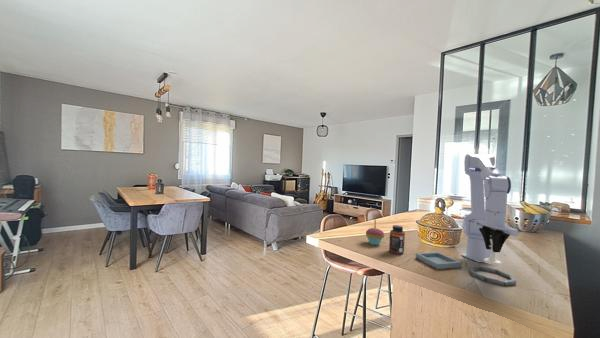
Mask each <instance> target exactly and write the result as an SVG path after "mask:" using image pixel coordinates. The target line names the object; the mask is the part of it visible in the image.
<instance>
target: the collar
mask: <svg viewBox="0 0 600 338" xmlns="http://www.w3.org/2000/svg"><path fill="white" fill-rule="evenodd" d="M479 271H483V272H488V273H492V274H496V275H500V276H502V277H504V278H506V280H501V279H496V278H492V277H487V276H485V275H482V274H480V273H478V272H479ZM469 272H471V273H470V275H471V277H475V278H477V279H478V280H481V281H483V282H484V283H485V282H486V283H489V284H493V285H498V286H503V287H508V286H516V285H517V280H516V279H515V277H514V276H513V275H512V274H511V273H507V272H505V271H504V270H503V271H502V270H500V269H497V268H492V267H487V266H484V265H483V266H482V265H481V266H480V265H476V266H470V267H469Z"/></svg>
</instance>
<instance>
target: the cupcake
mask: <svg viewBox="0 0 600 338" xmlns="http://www.w3.org/2000/svg"><path fill="white" fill-rule="evenodd" d="M365 236H366V238H367V239H368V244H370V245H373V246H379V245H380V244H381V242H382V239H384V237H385V233H384V231H383V230H381V229H378V228H377V219H376V218H374V228H371V227H370V228H368V229H367V230H366V231H365Z"/></svg>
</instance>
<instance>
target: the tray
mask: <svg viewBox="0 0 600 338" xmlns="http://www.w3.org/2000/svg"><path fill="white" fill-rule="evenodd" d="M415 259H416V260H418V261H421V262H423V263H424V264H426V265H428V266H430V267H431V266H432V268H433V267H434V268H433V269H435V268H436V269H435V270H437V269H440V270H447V269H446V268H451V269H458V268H460V267H461V268H462V266H463V265H462V263H463V262H462V261H460V260H458V259H455V258H453V257H451V256H448V255H446V254H444V253H442V252H439V251H433V252H432V251H431V252H430V251H429V252H416V253H415Z"/></svg>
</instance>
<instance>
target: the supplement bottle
mask: <svg viewBox="0 0 600 338" xmlns="http://www.w3.org/2000/svg"><path fill="white" fill-rule="evenodd" d="M405 235H406V233H405V231H404V228H403V226H402V225H398V224H393V225H392V229H391V230H390V231H389V245H388V247H389V248H388V249H389V252H390V253H392V254H395V255H403V254H404V252H405V240H406V239H405V237H406V236H405Z"/></svg>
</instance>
